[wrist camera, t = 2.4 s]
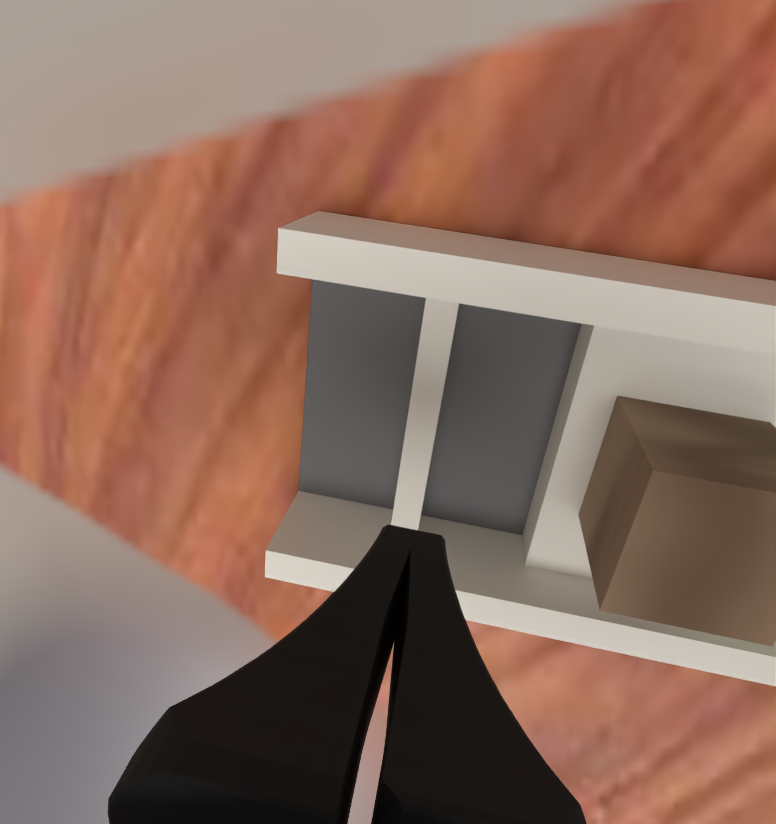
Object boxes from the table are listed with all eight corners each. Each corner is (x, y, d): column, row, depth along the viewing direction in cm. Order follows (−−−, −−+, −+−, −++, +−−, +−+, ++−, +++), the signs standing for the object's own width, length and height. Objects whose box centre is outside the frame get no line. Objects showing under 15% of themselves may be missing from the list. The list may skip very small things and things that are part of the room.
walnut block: (770, 422, 18) (852, 507, 14) (714, 541, 20) (772, 646, 15) (617, 395, 18) (652, 470, 14) (578, 515, 20) (599, 610, 16)
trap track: (1072, 326, 17) (1226, 376, 13) (871, 627, 22) (943, 722, 19) (318, 210, 19) (278, 228, 15) (298, 512, 24) (264, 576, 21)
